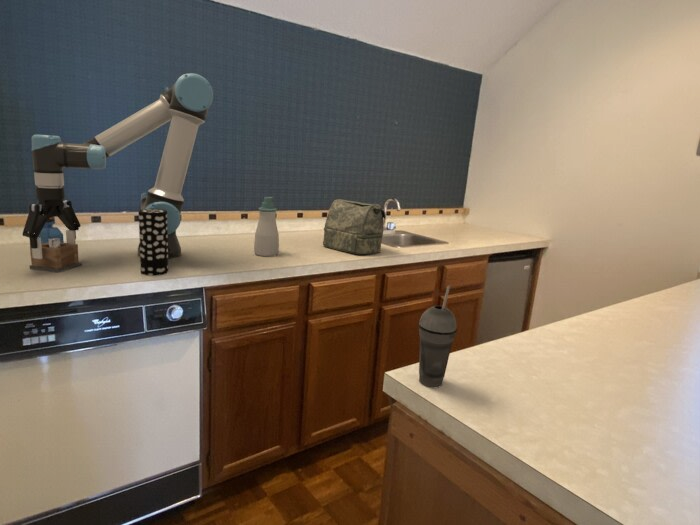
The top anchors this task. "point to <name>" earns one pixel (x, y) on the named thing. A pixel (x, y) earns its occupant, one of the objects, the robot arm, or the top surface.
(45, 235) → the perfume bottle
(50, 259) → the open wooden crate
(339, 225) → the lunch bag
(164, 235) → the white-spotted black cylinder
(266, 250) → the soap bottle
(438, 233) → the top surface
